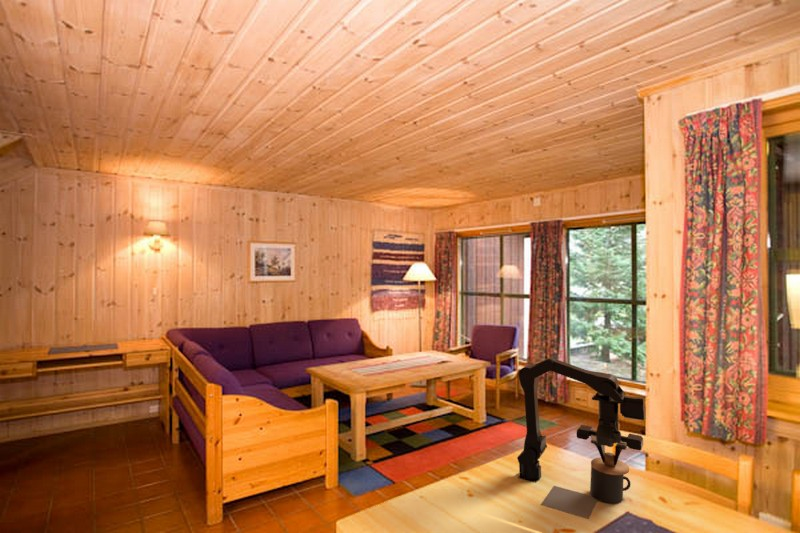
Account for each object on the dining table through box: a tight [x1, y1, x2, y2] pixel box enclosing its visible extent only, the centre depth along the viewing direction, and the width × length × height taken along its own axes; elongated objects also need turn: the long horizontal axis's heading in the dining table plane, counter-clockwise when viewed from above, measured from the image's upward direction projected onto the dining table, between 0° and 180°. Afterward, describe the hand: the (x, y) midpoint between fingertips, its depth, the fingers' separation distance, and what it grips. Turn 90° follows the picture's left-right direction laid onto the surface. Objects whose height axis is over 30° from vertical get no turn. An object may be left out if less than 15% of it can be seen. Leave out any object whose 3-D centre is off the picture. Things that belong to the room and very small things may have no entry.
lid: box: [590, 451, 630, 476], centre depth 140 cm, size 11×11×4 cm
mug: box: [589, 465, 632, 505], centre depth 140 cm, size 9×12×9 cm
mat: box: [540, 485, 598, 520], centre depth 137 cm, size 14×14×1 cm
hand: (609, 463), depth 140 cm, fingers closed on lid, 3 cm apart
